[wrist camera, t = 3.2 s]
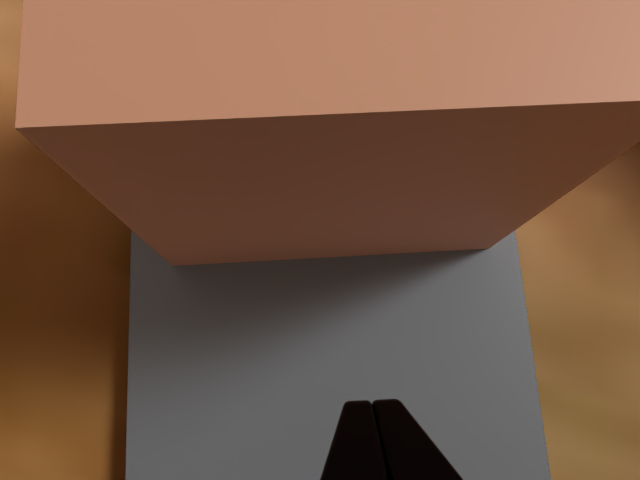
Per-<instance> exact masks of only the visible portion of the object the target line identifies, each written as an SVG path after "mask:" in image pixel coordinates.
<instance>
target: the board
mask: <svg viewBox="0 0 640 480" xmlns="http://www.w3.org/2000/svg"><path fill="white" fill-rule="evenodd" d="M378 399H398V400H400V401H401V402H402V403H403V404H404V406H405V407H406V408H407V409H408V411H409V412H410V413H411V414H412V416H413V417H414V418H415V420H416V421H417V422H418V423H419V425H420V426H421V427H422V428H423V430H424V431H425V432H426V433H427V435H428V436H429V437H430V438H431V440H432V441H433V442H434V443H435V445H436V446H437V447H438V448H439V450H440V451H441V452H442V453H443V455H444V456H445V457H446V458H447V460H448V461H449V462H450V463H451V465H452V466H453V467H454V468H455V470H456V471H457V472H458V473H459V475H460V476H461V477H462V478H463V480H551V477H550V470H549V463H548V456H547V449H546V442H545V435H544V428H543V421H542V414H541V407H540V400H539V393H538V386H537V379H536V372H535V366H534V359H533V352H532V345H531V338H530V331H529V324H528V317H527V310H526V303H525V296H524V289H523V282H522V275H521V268H520V261H519V254H518V247H517V240H516V234H515V230H514V231H513V232H512V233H510V234H509V235H507V236H506V237H505V238H503V239H502V240H500V241H499V242H498V243H496V244H495V245H493V246H492V247H491V248H489V249H474V250H456V251H437V252H419V253H400V254H382V255H364V256H345V257H327V258H308V259H290V260H272V261H253V262H235V263H216V264H198V265H180V266H172V265H171V264H170V263H169V262H167V261H166V260H165V259H164V258H163V257H162V256H161V255H159V254H158V253H157V252H156V251H155V250H154V249H153V248H151V247H150V246H149V245H148V244H147V243H146V242H145V241H143V240H142V239H141V238H140V237H139V236H138V235H137V234H135V233H134V232H133V231H132V230H131V260H130V304H129V347H128V391H127V434H126V478H125V480H320V478H321V475H322V472H323V469H324V465H325V462H326V459H327V456H328V453H329V449H330V446H331V443H332V440H333V437H334V433H335V430H336V427H337V424H338V421H339V417H340V414H341V411H342V408H343V405H344V403H345V402H347V401H357V400H369V401H370V402H371V403H372V402H373V401H374V400H378Z"/></svg>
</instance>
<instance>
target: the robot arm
mask: <svg viewBox="0 0 640 480" xmlns="http://www.w3.org/2000/svg"><path fill="white" fill-rule="evenodd" d="M320 480H463V478H462V477H461V476H460V475H459V473H458V472H457V471H456V470H455V468H454V467H453V466H452V465H451V463H450V462H449V461H448V460H447V458H446V457H445V456H444V455H443V453H442V452H441V451H440V450H439V448H438V447H437V446H436V445H435V443H434V442H433V441H432V440H431V438H430V437H429V436H428V435H427V433H426V432H425V431H424V430H423V428H422V427H421V426H420V425H419V423H418V422H417V421H416V420H415V418H414V417H413V416H412V414H411V413H410V412H409V411H408V409H407V408H406V407H405V406H404V404H403V403H402V402H401V401H400V400H398V399H378V400H374V401H373V402H372V403H371V402H370V401H369V400H357V401H347V402H345V403H344V405H343V408H342V411H341V414H340V417H339V421H338V424H337V427H336V430H335V433H334V437H333V440H332V443H331V446H330V449H329V453H328V456H327V459H326V462H325V465H324V469H323V472H322V475H321V478H320Z"/></svg>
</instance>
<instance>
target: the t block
mask: <svg viewBox="0 0 640 480" xmlns="http://www.w3.org/2000/svg"><path fill="white" fill-rule="evenodd" d="M15 128H16V129H17V130H18V131H19V132H20V133H21V134H22V135H24V136H25V137H26V138H27V139H28V140H29V141H30V142H32V143H33V144H34V145H35V146H36V147H37V148H38V149H40V150H41V151H42V152H43V153H44V154H45V155H46V156H48V157H49V158H50V159H51V160H52V161H53V162H54V163H56V164H57V165H58V166H59V167H60V168H61V169H62V170H64V171H65V172H66V173H67V174H68V175H69V176H70V177H72V178H73V179H74V180H75V181H76V182H77V183H78V184H80V185H81V186H82V187H83V188H84V189H85V190H86V191H88V192H89V193H90V194H91V195H92V196H93V197H94V198H96V199H97V200H98V201H99V202H100V203H101V204H102V205H103V206H105V207H106V208H107V209H108V210H109V211H110V212H111V213H113V214H114V215H115V216H116V217H117V218H118V219H119V220H121V221H122V222H123V223H124V224H125V225H126V226H127V227H129V228H130V229H131V230H132V231H133V232H134V233H135V234H137V235H138V236H139V237H140V238H141V239H142V240H143V241H145V242H146V243H147V244H148V245H149V246H150V247H151V248H153V249H154V250H155V251H156V252H157V253H158V254H159V255H161V256H162V257H163V258H164V259H165V260H166V261H167V262H169V263H170V264H171V265H172V266H180V265H198V264H216V263H235V262H253V261H272V260H290V259H308V258H327V257H345V256H364V255H382V254H400V253H419V252H437V251H456V250H474V249H489V248H491V247H492V246H493V245H495V244H496V243H498V242H499V241H500V240H502V239H503V238H505V237H506V236H507V235H509V234H510V233H512V232H513V231H514V230H516V229H517V228H519V227H520V226H522V225H523V224H524V223H526V222H527V221H529V220H530V219H531V218H533V217H534V216H536V215H537V214H538V213H540V212H541V211H543V210H544V209H546V208H547V207H548V206H550V205H551V204H553V203H554V202H555V201H557V200H558V199H560V198H561V197H562V196H564V195H565V194H567V193H568V192H570V191H571V190H572V189H574V188H575V187H577V186H578V185H579V184H581V183H582V182H584V181H585V180H586V179H588V178H589V177H591V176H592V175H593V174H595V173H596V172H598V171H599V170H601V169H602V168H603V167H605V166H606V165H608V164H609V163H610V162H612V161H613V160H615V159H616V158H617V157H619V156H620V155H622V154H623V153H625V152H626V151H627V150H629V149H630V148H632V147H633V146H634V145H636V144H637V143H639V142H640V0H24V6H23V21H22V35H21V49H20V63H19V77H18V91H17V106H16V120H15Z"/></svg>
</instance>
